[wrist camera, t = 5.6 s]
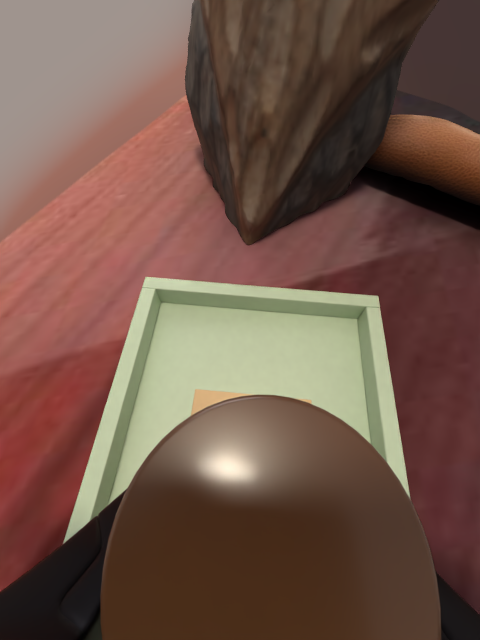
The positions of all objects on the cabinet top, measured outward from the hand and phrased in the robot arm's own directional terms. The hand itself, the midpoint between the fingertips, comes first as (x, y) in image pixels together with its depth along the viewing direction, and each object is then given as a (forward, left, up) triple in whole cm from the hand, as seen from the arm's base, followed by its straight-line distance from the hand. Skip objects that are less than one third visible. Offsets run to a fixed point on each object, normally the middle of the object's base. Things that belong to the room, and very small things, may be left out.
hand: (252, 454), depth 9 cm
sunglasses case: (+7, -26, -6) cm, 28 cm away
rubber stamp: (-1, +1, -6) cm, 6 cm away
